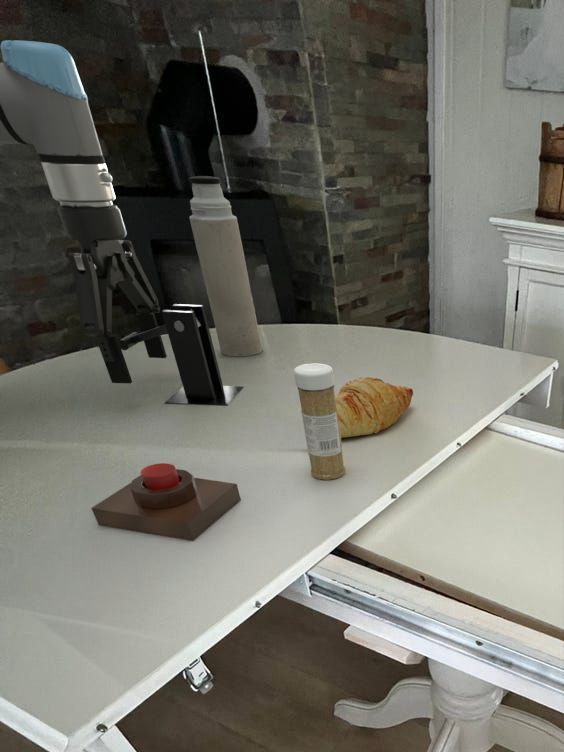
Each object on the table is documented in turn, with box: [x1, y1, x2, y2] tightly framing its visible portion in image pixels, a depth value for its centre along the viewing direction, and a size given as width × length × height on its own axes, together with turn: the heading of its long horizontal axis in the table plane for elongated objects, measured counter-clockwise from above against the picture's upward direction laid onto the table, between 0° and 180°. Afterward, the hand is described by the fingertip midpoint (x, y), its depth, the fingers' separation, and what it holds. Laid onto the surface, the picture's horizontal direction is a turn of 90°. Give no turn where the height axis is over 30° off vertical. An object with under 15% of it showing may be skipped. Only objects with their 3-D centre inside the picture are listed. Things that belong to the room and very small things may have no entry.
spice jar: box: [293, 363, 346, 481], centre depth 74 cm, size 5×5×13 cm
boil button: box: [140, 462, 180, 490], centre depth 66 cm, size 4×4×2 cm
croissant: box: [334, 377, 414, 439], centre depth 90 cm, size 21×10×8 cm, turn 144°
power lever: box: [118, 309, 201, 351], centre depth 90 cm, size 12×5×2 cm, turn 91°
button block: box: [91, 468, 242, 542], centre depth 68 cm, size 12×10×4 cm
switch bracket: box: [161, 303, 245, 407], centre depth 93 cm, size 10×9×14 cm
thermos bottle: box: [189, 175, 263, 358], centre depth 110 cm, size 8×8×28 cm
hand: (141, 369), depth 94 cm, fingers open, 12 cm apart
